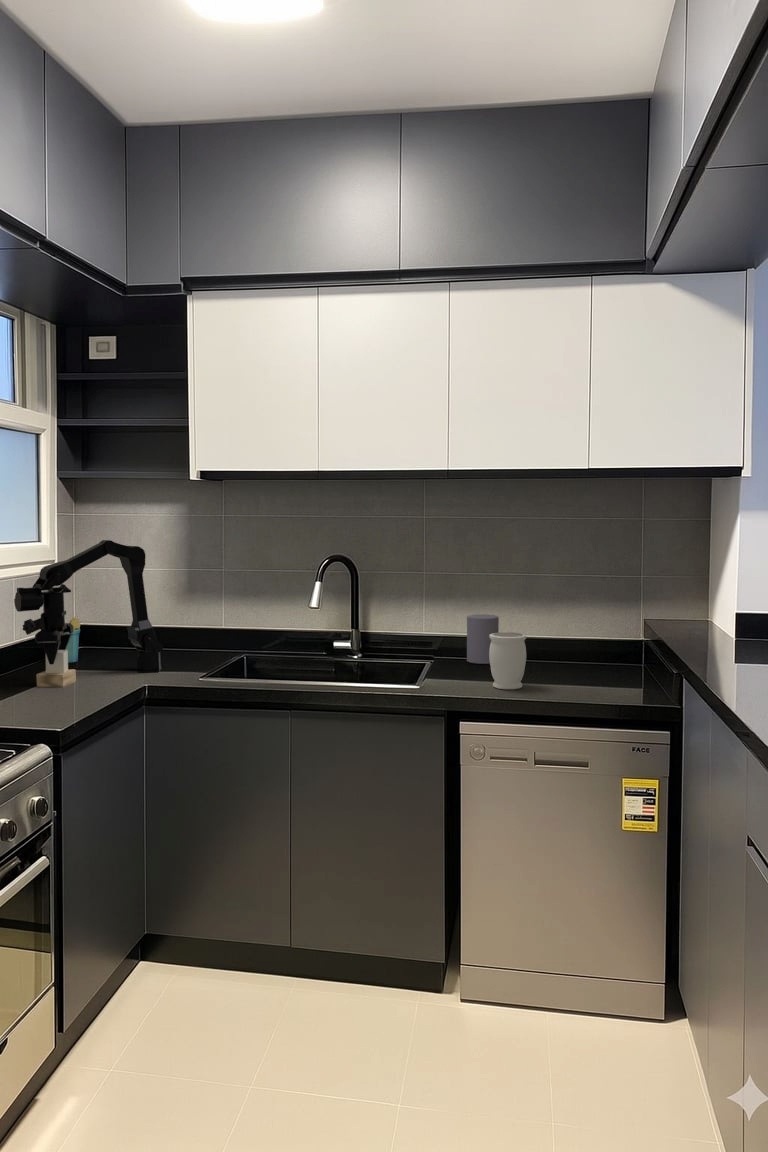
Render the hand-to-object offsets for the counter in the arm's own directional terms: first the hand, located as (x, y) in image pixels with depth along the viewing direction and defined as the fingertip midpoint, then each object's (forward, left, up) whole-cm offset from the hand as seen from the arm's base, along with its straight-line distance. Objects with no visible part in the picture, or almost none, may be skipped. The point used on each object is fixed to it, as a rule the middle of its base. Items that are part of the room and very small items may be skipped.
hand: (56, 661), depth 257 cm
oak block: (0, 0, -7) cm, 7 cm away
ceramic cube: (0, 0, -3) cm, 3 cm away
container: (-131, -18, -7) cm, 132 cm away
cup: (+6, -37, -7) cm, 38 cm away
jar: (-130, +21, -7) cm, 132 cm away
